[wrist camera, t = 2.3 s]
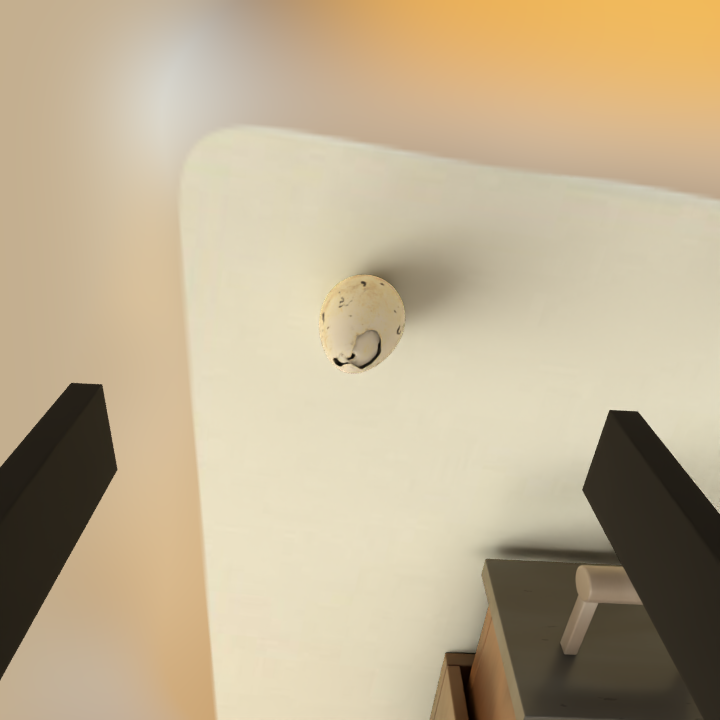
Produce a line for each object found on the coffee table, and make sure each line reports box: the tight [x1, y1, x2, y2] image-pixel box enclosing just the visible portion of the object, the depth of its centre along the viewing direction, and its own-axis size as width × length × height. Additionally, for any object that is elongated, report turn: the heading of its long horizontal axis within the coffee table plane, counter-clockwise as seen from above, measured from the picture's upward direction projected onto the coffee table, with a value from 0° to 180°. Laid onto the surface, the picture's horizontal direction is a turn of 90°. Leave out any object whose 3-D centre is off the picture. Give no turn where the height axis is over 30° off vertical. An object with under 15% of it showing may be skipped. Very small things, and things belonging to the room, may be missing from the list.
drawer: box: [465, 559, 704, 720], centre depth 28 cm, size 18×11×8 cm, turn 176°
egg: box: [319, 275, 405, 374], centre depth 20 cm, size 3×3×5 cm
